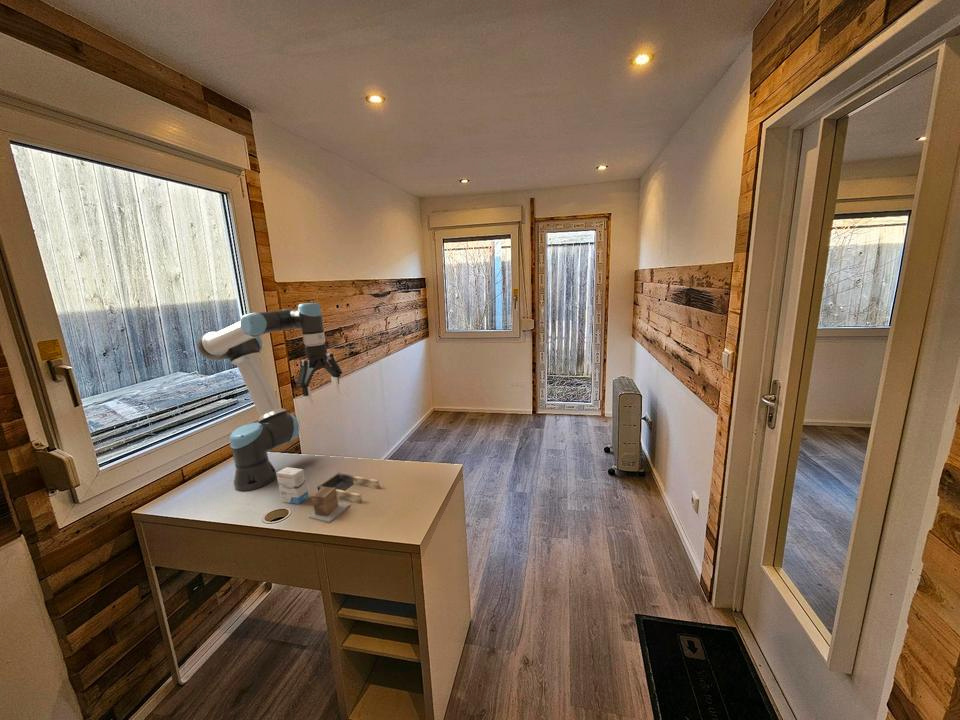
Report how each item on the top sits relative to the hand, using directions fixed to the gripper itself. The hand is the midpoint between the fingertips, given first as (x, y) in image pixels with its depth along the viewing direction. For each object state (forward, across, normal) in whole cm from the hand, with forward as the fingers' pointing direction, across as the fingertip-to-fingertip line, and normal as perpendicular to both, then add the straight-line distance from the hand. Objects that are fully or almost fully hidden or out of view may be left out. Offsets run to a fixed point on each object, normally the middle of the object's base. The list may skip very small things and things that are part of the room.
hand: (323, 398), depth 146 cm
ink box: (+35, -16, +4) cm, 39 cm away
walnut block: (+34, -18, -14) cm, 41 cm away
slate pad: (+34, -18, -15) cm, 42 cm away
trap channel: (+34, -5, -12) cm, 37 cm away
